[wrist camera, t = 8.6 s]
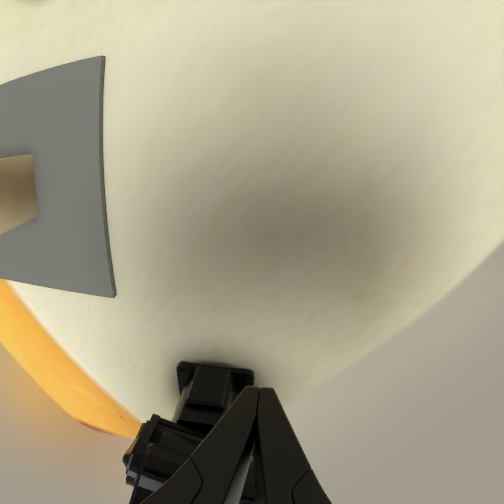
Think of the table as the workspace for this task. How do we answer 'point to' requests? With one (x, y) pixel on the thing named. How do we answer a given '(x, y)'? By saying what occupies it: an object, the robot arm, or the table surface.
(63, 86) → the rubber mat
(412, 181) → the table surface
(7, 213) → the pine block
